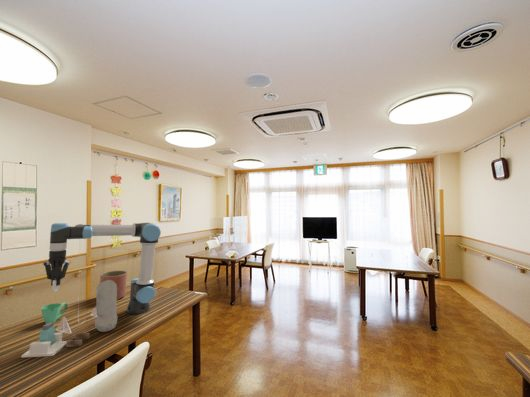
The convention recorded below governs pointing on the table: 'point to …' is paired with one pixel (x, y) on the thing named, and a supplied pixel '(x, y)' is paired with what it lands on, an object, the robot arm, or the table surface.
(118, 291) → the planter
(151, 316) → the table surface
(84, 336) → the holster
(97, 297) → the sculpture
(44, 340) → the plug
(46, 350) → the port
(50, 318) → the mug
